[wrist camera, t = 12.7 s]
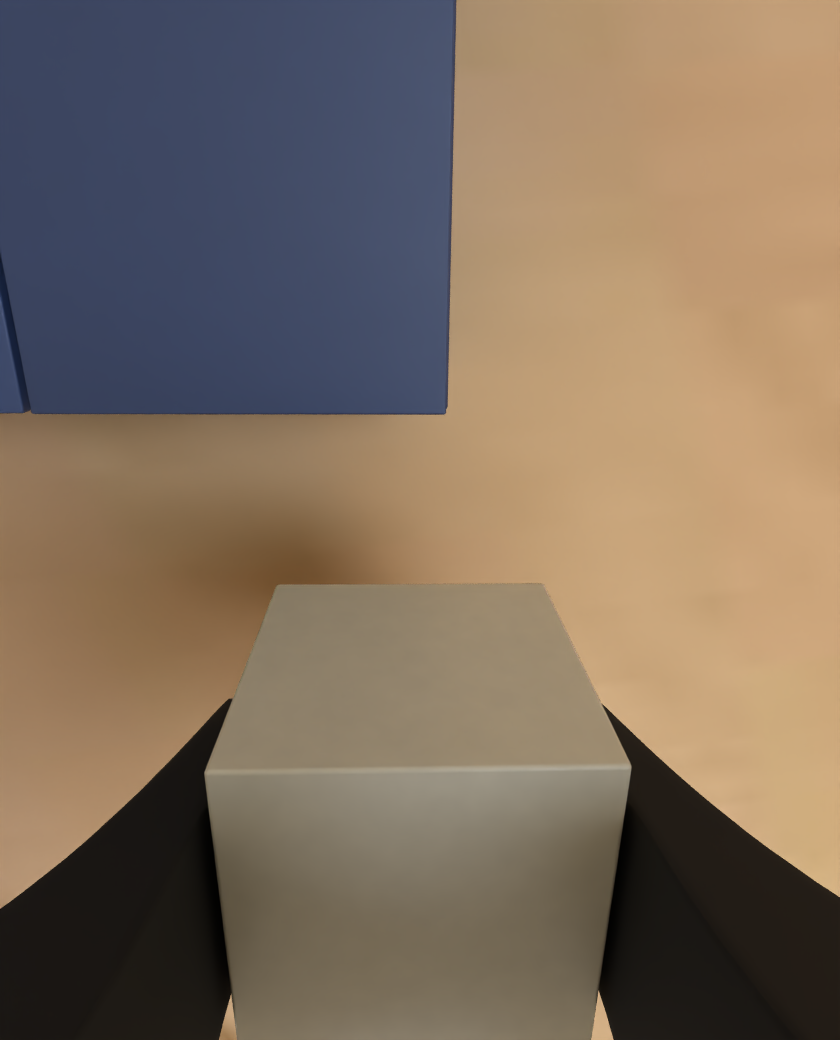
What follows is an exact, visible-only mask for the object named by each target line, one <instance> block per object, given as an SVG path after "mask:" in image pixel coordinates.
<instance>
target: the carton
mask: <svg viewBox="0 0 840 1040" xmlns="http://www.w3.org/2000/svg"><path fill="white" fill-rule="evenodd" d="M455 36H456V0H0V253H1V258H2V264H3V269H4V274H5V279H6V284H7V289H8V294H9V300H10V305H11V310H12V315H13V320H14V325H15V330H16V335H17V341H18V346H19V351H20V356H21V361H22V366H23V371H24V377H25V382H26V387H27V392H28V397H29V402H30V407H31V412H32V413H33V414H405V415H444V414H446V409H447V406H448V360H449V313H450V267H451V221H452V175H453V128H454V82H455Z"/></svg>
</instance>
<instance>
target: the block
mask: <svg viewBox="0 0 840 1040" xmlns="http://www.w3.org/2000/svg"><path fill="white" fill-rule="evenodd" d="M204 775H205V783H206V792H207V800H208V808H209V816H210V824H211V832H212V840H213V848H214V857H215V865H216V873H217V881H218V889H219V897H220V905H221V913H222V921H223V930H224V938H225V946H226V954H227V962H228V970H229V978H230V986H231V994H232V1003H233V1011H234V1019H235V1027H236V1035H237V1040H591V1037H592V1030H593V1024H594V1017H595V1010H596V1003H597V997H598V990H599V983H600V976H601V970H602V963H603V956H604V950H605V943H606V936H607V929H608V923H609V916H610V909H611V902H612V896H613V889H614V882H615V876H616V869H617V862H618V855H619V849H620V842H621V835H622V828H623V822H624V815H625V808H626V801H627V795H628V788H629V781H630V775H631V764H630V762H629V760H628V757H627V755H626V753H625V751H624V749H623V747H622V745H621V743H620V741H619V739H618V737H617V735H616V733H615V731H614V728H613V726H612V724H611V722H610V720H609V718H608V716H607V714H606V712H605V710H604V708H603V706H602V704H601V702H600V699H599V697H598V695H597V693H596V691H595V689H594V687H593V685H592V683H591V681H590V679H589V677H588V675H587V673H586V670H585V668H584V666H583V664H582V662H581V660H580V658H579V656H578V654H577V652H576V650H575V648H574V646H573V644H572V642H571V639H570V637H569V635H568V633H567V631H566V629H565V627H564V625H563V623H562V621H561V619H560V617H559V615H558V613H557V610H556V608H555V606H554V604H553V602H552V600H551V598H550V596H549V594H548V592H547V590H546V588H545V586H544V584H541V583H526V584H308V585H277V586H276V588H275V591H274V593H273V596H272V598H271V601H270V604H269V606H268V609H267V611H266V614H265V617H264V619H263V622H262V624H261V627H260V630H259V632H258V635H257V637H256V640H255V642H254V645H253V648H252V650H251V653H250V655H249V658H248V661H247V663H246V666H245V668H244V671H243V674H242V676H241V679H240V681H239V684H238V687H237V689H236V692H235V694H234V697H233V700H232V702H231V705H230V707H229V710H228V713H227V715H226V718H225V720H224V723H223V726H222V728H221V731H220V733H219V736H218V739H217V741H216V744H215V746H214V749H213V752H212V754H211V757H210V759H209V762H208V764H207V767H206V770H205V772H204Z"/></svg>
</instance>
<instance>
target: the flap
mask: <svg viewBox="0 0 840 1040" xmlns="http://www.w3.org/2000/svg"><path fill="white" fill-rule="evenodd" d="M30 410H31V407H30V402H29V397H28V392H27V387H26V382H25V377H24V371H23V366H22V361H21V356H20V351H19V346H18V341H17V335H16V330H15V325H14V320H13V315H12V310H11V305H10V300H9V294H8V289H7V284H6V279H5V274H4V269H3V264H2V258H1V253H0V413H25V412H27V411H30Z"/></svg>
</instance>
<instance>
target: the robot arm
mask: <svg viewBox="0 0 840 1040" xmlns="http://www.w3.org/2000/svg"><path fill="white" fill-rule="evenodd" d="M232 700H233V699H228V700H227V701H226V702H225V703H224V704H223V705H222V706H221V707H220V708H219V709H218V710H217V711H216V712H215V713H214V714H213V715H212V716H211V717H210V719H209V720H208V721H207V722H206V723H205V724H204V725H203V726H202V727H201V728H200V729H199V731H198V732H197V733H196V734H195V735H194V736H193V737H192V738H191V739H190V740H189V741H188V742H187V743H186V744H185V746H184V747H183V748H182V749H181V750H180V751H179V752H178V753H177V754H176V755H175V756H174V757H173V758H172V759H171V760H170V761H169V762H168V763H167V764H166V765H165V766H164V767H163V768H162V769H161V770H160V771H159V772H158V773H157V774H156V775H155V776H154V777H153V778H152V780H151V781H150V782H149V783H148V784H147V785H146V786H145V787H144V788H143V789H142V790H141V791H140V792H139V793H138V794H136V795H135V796H134V797H133V798H132V799H131V800H130V801H129V802H128V803H127V804H126V805H125V806H124V807H123V808H122V809H120V810H119V811H118V812H117V813H116V814H115V815H114V816H113V817H112V818H111V819H110V820H109V821H107V822H106V823H105V824H104V825H103V826H102V827H101V828H100V829H99V830H98V831H97V832H96V833H94V834H93V835H92V836H91V837H90V838H89V839H88V840H87V841H86V842H84V843H83V844H82V845H81V846H80V847H79V848H77V849H76V850H75V851H74V852H73V853H72V854H70V855H69V856H68V857H67V858H66V859H64V860H63V861H62V862H61V863H59V864H58V865H57V866H56V867H54V868H53V869H52V870H51V871H49V872H48V873H47V874H45V875H44V876H43V877H42V878H40V879H39V880H38V881H37V882H35V883H34V884H33V885H32V886H30V887H29V888H28V889H26V890H25V891H24V892H23V893H21V894H20V895H19V896H17V897H16V898H15V899H13V900H12V901H11V902H9V903H8V904H6V905H5V906H4V907H2V908H1V909H0V1040H219V1037H220V1033H221V1029H222V1024H223V1021H224V1017H225V1013H226V1010H227V1006H228V1003H229V999H230V995H231V986H230V978H229V970H228V962H227V954H226V946H225V938H224V930H223V921H222V913H221V905H220V897H219V889H218V881H217V873H216V865H215V857H214V848H213V840H212V832H211V824H210V816H209V808H208V800H207V792H206V783H205V775H204V772H205V770H206V767H207V764H208V762H209V759H210V757H211V754H212V752H213V749H214V746H215V744H216V741H217V739H218V736H219V733H220V731H221V728H222V726H223V723H224V720H225V718H226V715H227V713H228V710H229V707H230V705H231V702H232ZM601 704H602V703H601ZM602 706H603V708H604V710H605V712H606V714H607V716H608V718H609V720H610V722H611V724H612V726H613V728H614V731H615V733H616V735H617V737H618V739H619V741H620V743H621V745H622V747H623V749H624V751H625V753H626V755H627V757H628V760H629V762H630V764H631V775H630V781H629V788H628V795H627V801H626V808H625V815H624V822H623V828H622V835H621V842H620V849H619V855H618V862H617V869H616V876H615V882H614V889H613V896H612V902H611V909H610V916H609V923H608V929H607V936H606V943H605V950H604V956H603V963H602V970H601V976H600V983H599V992H600V996H601V999H602V1002H603V1005H604V1008H605V1011H606V1014H607V1018H608V1021H609V1025H610V1028H611V1032H612V1035H613V1039H614V1040H840V897H838V896H837V895H835V894H834V893H832V892H831V891H829V890H828V889H826V888H825V887H823V886H822V885H820V884H819V883H817V882H816V881H814V880H813V879H811V878H810V877H808V876H807V875H806V874H804V873H803V872H801V871H800V870H798V869H797V868H796V867H794V866H793V865H791V864H790V863H789V862H787V861H786V860H784V859H783V858H781V857H780V856H779V855H777V854H776V853H774V852H773V851H771V850H770V849H769V848H767V847H766V846H765V845H763V844H762V843H761V842H759V841H758V840H757V839H755V838H754V837H753V836H751V835H750V834H749V833H747V832H746V831H745V830H743V829H742V828H741V827H740V826H738V825H737V824H736V823H735V822H733V821H732V820H731V819H730V818H729V817H727V816H726V815H725V814H724V813H722V812H721V811H720V810H719V809H717V808H716V807H715V806H714V805H712V804H711V803H710V802H709V801H707V800H706V799H705V798H704V797H703V796H702V795H700V794H699V793H698V792H697V791H696V790H695V789H693V788H692V787H691V786H690V785H689V784H688V783H686V782H685V781H684V780H683V779H682V778H681V777H680V776H678V775H677V774H676V773H675V772H674V771H673V770H672V769H671V768H669V767H668V766H667V765H666V764H665V763H664V762H663V761H662V760H661V759H660V758H658V757H657V756H656V755H655V754H654V753H653V752H652V751H651V750H650V749H649V748H648V747H647V746H646V745H645V744H643V743H642V742H641V741H640V740H639V739H638V738H637V737H636V736H635V735H634V734H633V733H632V732H631V731H630V730H629V729H628V728H627V727H626V726H625V725H624V724H622V723H621V722H620V721H619V720H618V719H617V718H616V717H615V716H614V715H613V714H612V713H611V712H610V711H609V710H608V709H607V708H606V707H605V706H604V705H603V704H602Z"/></svg>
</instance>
